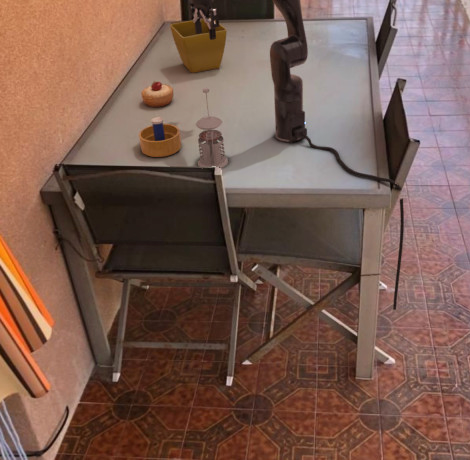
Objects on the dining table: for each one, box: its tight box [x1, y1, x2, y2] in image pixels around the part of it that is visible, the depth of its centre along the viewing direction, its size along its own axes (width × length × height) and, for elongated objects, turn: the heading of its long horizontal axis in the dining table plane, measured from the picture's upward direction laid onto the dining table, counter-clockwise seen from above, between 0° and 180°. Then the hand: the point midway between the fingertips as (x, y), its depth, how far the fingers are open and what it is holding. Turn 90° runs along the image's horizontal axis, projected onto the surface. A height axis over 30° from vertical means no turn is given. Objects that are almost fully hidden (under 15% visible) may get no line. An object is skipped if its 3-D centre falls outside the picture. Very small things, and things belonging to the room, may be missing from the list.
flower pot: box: [169, 18, 228, 74], centre depth 274 cm, size 19×19×17 cm
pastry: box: [140, 81, 174, 108], centre depth 247 cm, size 12×12×9 cm
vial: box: [150, 116, 165, 141], centre depth 215 cm, size 4×4×10 cm
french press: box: [195, 87, 229, 169], centre depth 201 cm, size 10×12×25 cm
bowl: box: [138, 123, 182, 158], centre depth 216 cm, size 13×13×6 cm
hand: (205, 36), depth 224 cm, fingers open, 8 cm apart
